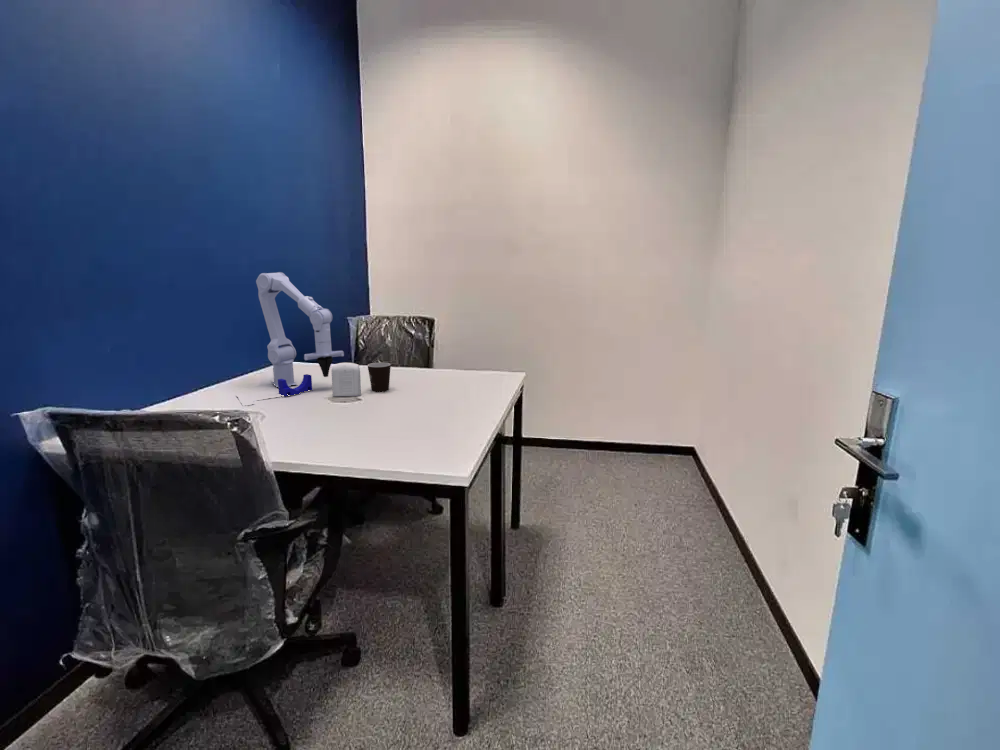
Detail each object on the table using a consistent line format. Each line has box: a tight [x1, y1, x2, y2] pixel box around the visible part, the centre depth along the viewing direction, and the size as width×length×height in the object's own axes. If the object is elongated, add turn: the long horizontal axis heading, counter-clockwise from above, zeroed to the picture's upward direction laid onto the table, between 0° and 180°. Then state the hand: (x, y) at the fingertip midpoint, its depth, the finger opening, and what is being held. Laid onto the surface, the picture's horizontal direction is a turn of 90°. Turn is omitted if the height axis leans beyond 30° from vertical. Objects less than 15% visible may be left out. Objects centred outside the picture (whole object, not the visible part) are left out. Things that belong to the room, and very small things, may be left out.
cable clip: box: [277, 374, 313, 396], centre depth 210 cm, size 12×4×6 cm, turn 141°
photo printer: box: [331, 362, 362, 397], centre depth 207 cm, size 10×4×12 cm, turn 98°
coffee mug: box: [367, 362, 392, 393], centre depth 216 cm, size 12×9×10 cm
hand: (325, 376), depth 216 cm, fingers closed
